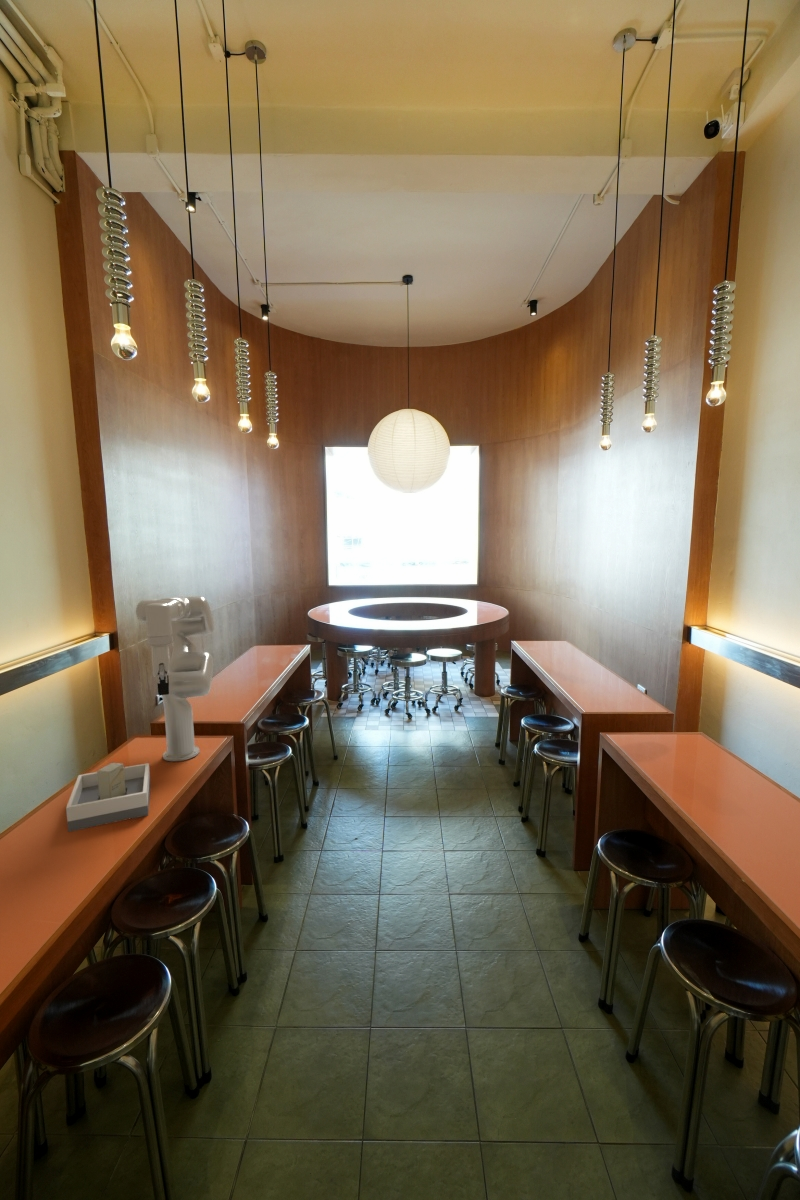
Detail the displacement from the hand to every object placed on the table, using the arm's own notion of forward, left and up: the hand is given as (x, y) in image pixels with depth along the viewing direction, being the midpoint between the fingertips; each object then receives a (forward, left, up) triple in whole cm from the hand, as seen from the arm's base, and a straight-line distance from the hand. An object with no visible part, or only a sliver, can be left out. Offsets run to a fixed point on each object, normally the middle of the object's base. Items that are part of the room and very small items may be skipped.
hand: (163, 690), depth 172 cm
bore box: (+13, -16, -30) cm, 37 cm away
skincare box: (+13, -16, -31) cm, 37 cm away
